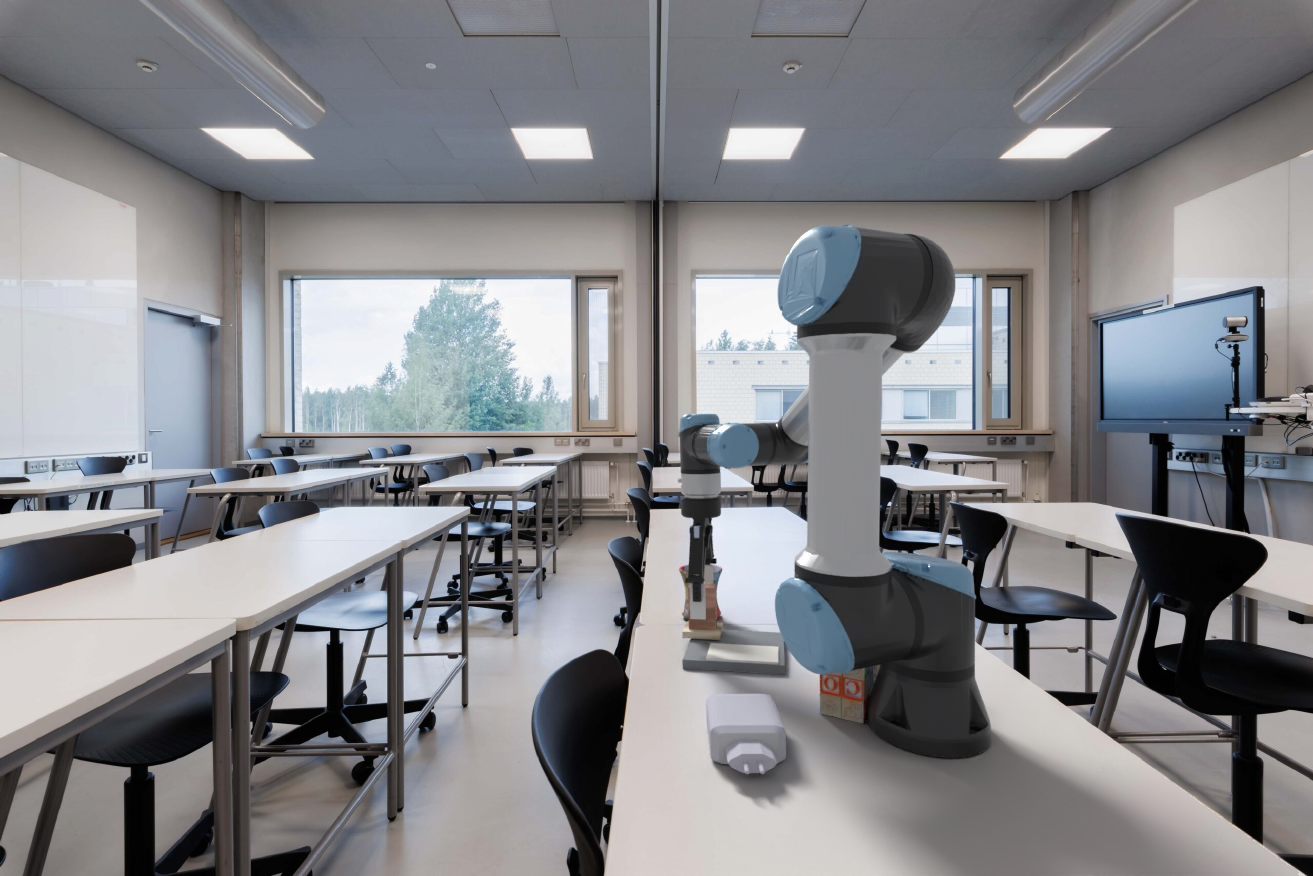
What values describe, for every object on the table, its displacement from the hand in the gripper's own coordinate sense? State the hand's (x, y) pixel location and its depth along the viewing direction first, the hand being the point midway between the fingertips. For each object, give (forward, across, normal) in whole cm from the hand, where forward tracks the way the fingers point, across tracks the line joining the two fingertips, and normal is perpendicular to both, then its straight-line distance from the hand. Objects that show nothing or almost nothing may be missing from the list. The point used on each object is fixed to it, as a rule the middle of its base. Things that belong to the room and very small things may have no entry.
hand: (702, 607), depth 115 cm
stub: (+5, 0, 0) cm, 5 cm away
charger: (+7, +38, +10) cm, 40 cm away
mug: (+7, -17, -2) cm, 18 cm away
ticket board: (+7, +4, +6) cm, 10 cm away
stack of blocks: (+7, +16, +26) cm, 32 cm away
